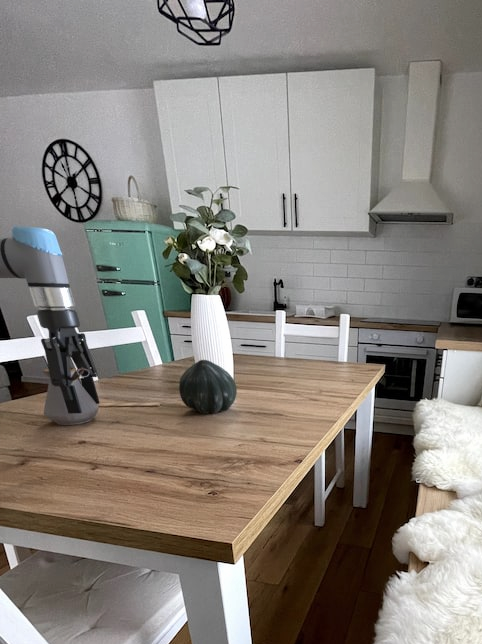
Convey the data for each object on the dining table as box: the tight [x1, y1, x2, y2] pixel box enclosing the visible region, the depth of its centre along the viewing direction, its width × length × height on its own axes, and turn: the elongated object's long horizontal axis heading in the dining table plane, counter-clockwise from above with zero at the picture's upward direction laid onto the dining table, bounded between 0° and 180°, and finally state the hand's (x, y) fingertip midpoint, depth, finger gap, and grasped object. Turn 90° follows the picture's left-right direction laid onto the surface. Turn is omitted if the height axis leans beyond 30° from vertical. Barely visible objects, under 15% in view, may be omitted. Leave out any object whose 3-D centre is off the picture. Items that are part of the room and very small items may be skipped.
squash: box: [178, 359, 238, 415], centre depth 109 cm, size 14×15×15 cm
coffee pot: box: [42, 366, 100, 426], centre depth 94 cm, size 21×12×15 cm, turn 52°
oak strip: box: [97, 402, 162, 408], centre depth 114 cm, size 24×3×1 cm, turn 97°
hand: (84, 407), depth 98 cm, fingers closed on coffee pot, 8 cm apart
